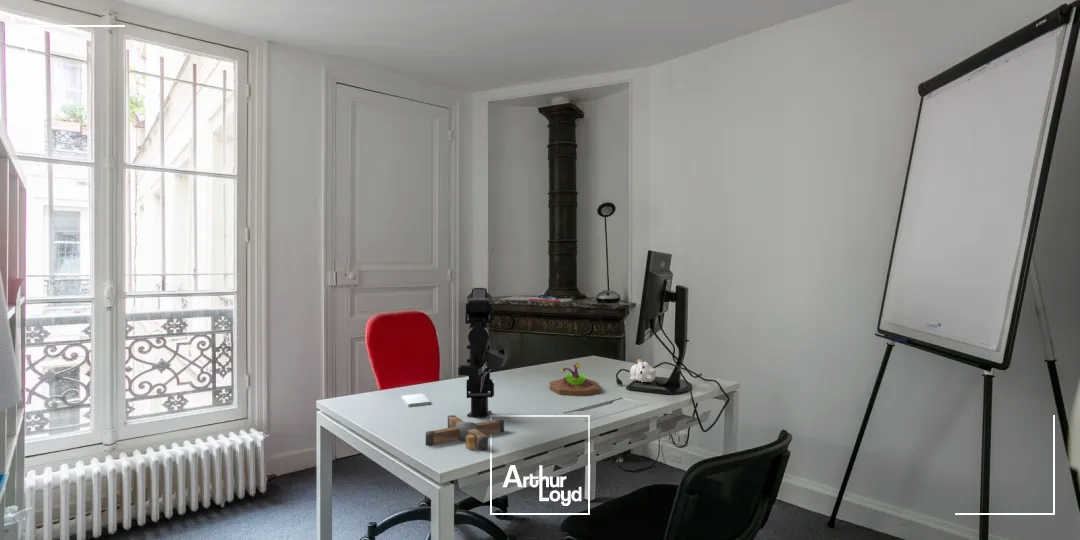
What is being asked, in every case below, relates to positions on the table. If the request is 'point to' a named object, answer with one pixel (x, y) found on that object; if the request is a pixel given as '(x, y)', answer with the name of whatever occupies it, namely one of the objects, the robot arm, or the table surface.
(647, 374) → the cat figurine
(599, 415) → the table surface
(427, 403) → the hard drive
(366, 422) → the table surface
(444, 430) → the stool base
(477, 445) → the folding leg
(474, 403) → the robot arm
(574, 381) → the plant
